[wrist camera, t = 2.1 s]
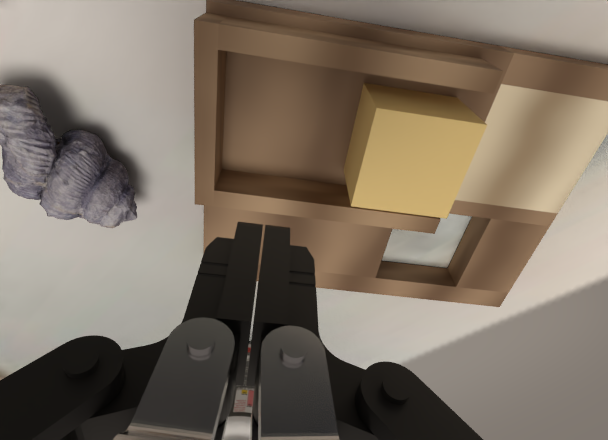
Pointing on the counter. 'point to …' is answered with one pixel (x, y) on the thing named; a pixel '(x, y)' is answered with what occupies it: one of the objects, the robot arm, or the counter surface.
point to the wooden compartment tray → (478, 180)
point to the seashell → (60, 165)
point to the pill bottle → (241, 410)
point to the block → (410, 150)
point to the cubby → (316, 51)
